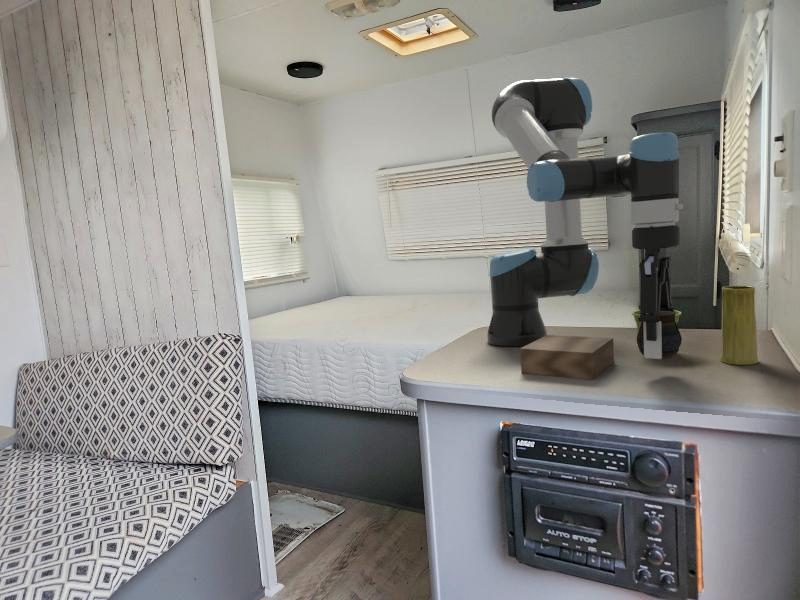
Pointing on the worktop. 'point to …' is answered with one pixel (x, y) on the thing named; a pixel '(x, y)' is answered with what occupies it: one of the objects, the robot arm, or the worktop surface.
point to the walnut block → (567, 356)
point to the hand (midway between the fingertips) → (657, 352)
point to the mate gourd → (664, 335)
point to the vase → (738, 326)
